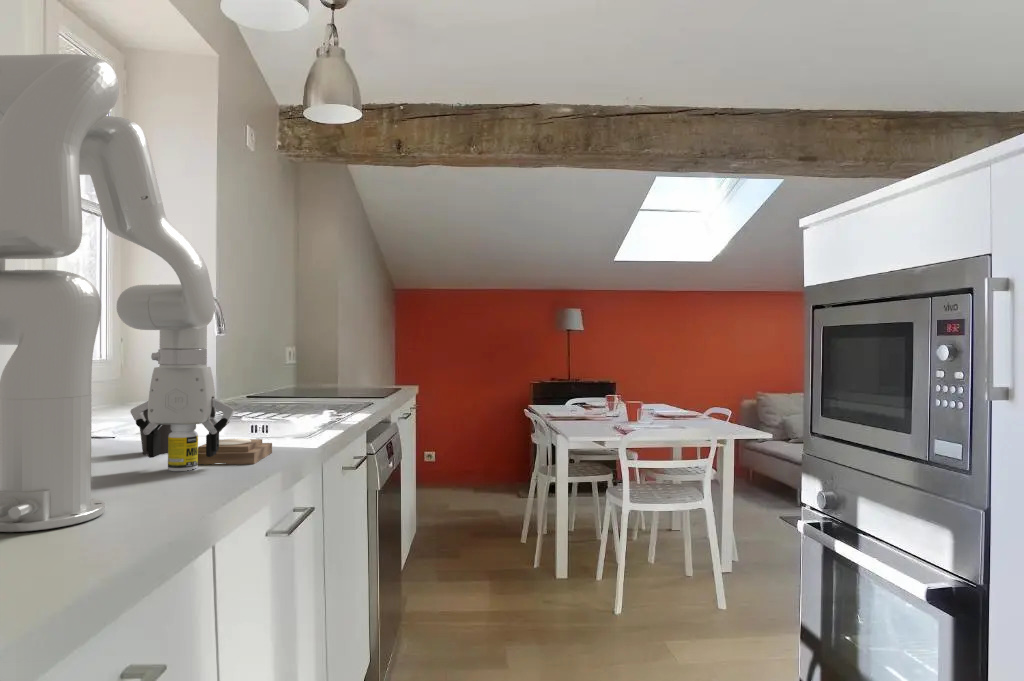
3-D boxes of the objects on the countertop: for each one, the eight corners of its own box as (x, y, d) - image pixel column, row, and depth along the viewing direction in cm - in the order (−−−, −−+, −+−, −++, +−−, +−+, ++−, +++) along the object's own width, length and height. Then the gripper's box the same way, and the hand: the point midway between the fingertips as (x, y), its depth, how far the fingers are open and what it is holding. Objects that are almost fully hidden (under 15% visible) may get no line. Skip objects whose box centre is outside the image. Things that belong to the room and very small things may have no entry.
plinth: (254, 463, 120) (254, 446, 120) (186, 464, 119) (186, 446, 119) (272, 452, 132) (272, 436, 132) (210, 453, 131) (210, 437, 131)
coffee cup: (166, 456, 127) (166, 405, 127) (125, 455, 128) (126, 404, 128) (188, 449, 135) (188, 401, 135) (149, 448, 136) (150, 401, 136)
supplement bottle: (189, 472, 112) (189, 423, 112) (162, 471, 112) (162, 423, 112) (202, 466, 117) (203, 420, 117) (177, 466, 117) (177, 419, 117)
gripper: (121, 359, 110) (120, 460, 110) (226, 360, 112) (226, 459, 112) (142, 358, 118) (141, 453, 118) (240, 358, 119) (240, 451, 119)
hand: (183, 456), depth 115 cm, fingers open, 9 cm apart
